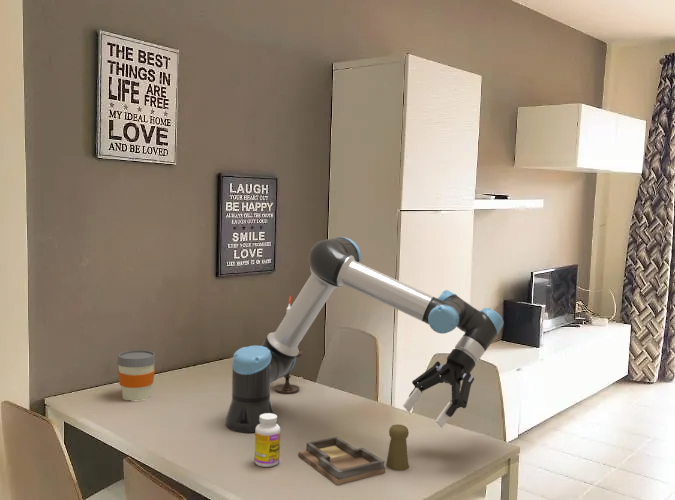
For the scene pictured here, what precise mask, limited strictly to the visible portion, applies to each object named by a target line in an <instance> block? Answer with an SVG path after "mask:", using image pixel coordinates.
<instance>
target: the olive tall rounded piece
mask: <svg viewBox="0 0 675 500" xmlns="http://www.w3.org/2000/svg"><path fill="white" fill-rule="evenodd" d="M388 435H389V437H390V441H389V446H388V447H389V448H388V452H387V459H386V464H385V466H386V468H388V469H390V470H393V471H398V472H399V471H405V470H408V469H409V457H408V445H407V439H408V438H409V429H408V427H407V426H406V425H404V424H393V425H391V426H390V427H389V430H388Z"/></svg>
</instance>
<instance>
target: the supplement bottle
mask: <svg viewBox="0 0 675 500" xmlns="http://www.w3.org/2000/svg"><path fill="white" fill-rule="evenodd" d="M259 421H260V424H258V425H257V426H256V429H255V432H254V434H255V435H254V436H255V437H254V463H255V465H257V466H259V467H263V468H271V467H275V466H277V465H278V464H279V462H280V455H281V454H280V453H281V452H280V450H281V449H280V448H281V427H280V425H279V424H278V423H277V421H278V415H277V414H275V413H274V414H272V413H265V414H261V415H260V418H259Z"/></svg>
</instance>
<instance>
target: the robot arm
mask: <svg viewBox="0 0 675 500" xmlns="http://www.w3.org/2000/svg"><path fill="white" fill-rule="evenodd" d="M361 261H362V255H361V250H360V247H359V246H358V244H357V243H356V242H355V241H353V240H352V239H350V238H349V237H343V236H337V237H334V238H329V239H327V238H326V239H322V240H320V241H317V242H316V243H315V244H314V245H313V246H312V247H311V249H310V251H309V254H308V264H309V267H310V268H309V270H310V273H311V274H310V275H309V277H308V279H307V280H306V282H305V284H304V285H303V287H302V288H301V290H300V291H299V293H298V295H297V297H296V298H295V300H294V301H293V303H292V305H290V306H291V308H290V309H289V311H288V312H287V311H286V313H285V316H284V317H283V319H282V321H281V322H280V323H279V325H278V327H277V328H276V330H275V331H273V332H269V333H268V334H267V336H266V338H264V341H263V342H262V344H261V345H249V346H244V347H240V348H239V349H237V350H236V351H235V352H234V353H233V357H232V363H231V368H232V371H231V372H232V373H231V374H232V375H231V377H232V381H231V383H232V385H231V389H232V390H231V391H232V392H231V402H230V404H229V408H228V410H227V412H226V417H225V426H226V428H228V429H229V430H232V431H234V432H239V433H255V429H256V426H257V425H258V424H260V421H259V418H260V415H261V414H265V413H272V414H275V412H274V408H273V406H272V402H271V384H272V383H273V382H275V381H277V380H279V379H281V378H284V376H285V375H286V374H288V373H289V372H290V371H291V372H292V370H293V368H294V366H295V364H296V361H297V358H296V356H297V355H298V353H299V349H300V348H299V347H298V346H299V344H300V343H301V341H302V340H303V338H304V337H305V336H306V334H307V332H308V331H309V328H311V326H312V325H313V323H314V322H315V320H316V319H317V316H319V313H320V311H321V310H322V308H323V307H324V305H325V304H326V302H327V301H328V300H329V298H330V296H331V294H332V293H333V292H334V290H335V289H338V288H339V289H340V288H342V286H346V287H348V288H351V289H352V290H354V291H356V292H359V293H361V294H363V295H365V296H367V297H370V298H372V299H373V300H376V301H378V302H380V303H382V304H384V305H387V306H389V307H390V308H392V309H395V310H397V311H400V312H402V313H403V314H406V315H408V316H410V317H411V318H412V317H413V318H414V319H416V320H418V321H421V322H423V323H425V324H427V325H429V327H430V329H431V330H432V331H434V332H435V333H438V334H448V333H450V332H452V331H454V330H455V329H456V328H457V329H459V330H460V331H462V332H464V334H463V336H462V337H461V338H460V339H459V341H458V342H457V344H455V346H454V349H452V350H451V352H450V353H449V354H448V356H447V357H446V363H445V364H444V365H443V364H441V362H440V361H436V362H434V364H433V365H432V366H431V367H430V368H429V369H427V370H425V372H423V373H421V374H420V375H419V376H417V377H416V378H415V379H413V380H412V381H411V382H412V385H413V386H414V388H413V390H412V391H411V392H410V393H409V395H408V398H407V399H406V401H405V402H403V403H404V404H402V407H403V408H404V409H405V411H407V412H409V413H410V412H411V411H412V409H414V407H415V405H416V404H417V402H418V401H419V399H420V398H421V397H423V396H422V395H423V394H424V393H423V392H424V391H425V390H426V391H427V390H428V389H430V388H431V387H434V386H436V385H438V384H443V383H445V384H449V385H450V386H451V400H450V401H448V402H447V404H446V405H445V406H444V408H443V409H442V410H441V411H440V413H439V415H438V416H437V418H436V419H435V420H434V421H435V423H436V424H437V425H438V426H439V427H440V428H443V427H444V426H445V425H446V423H447V421H448V420H449V419H450V418H451V417H452V416H453V415H454V414H455V412H456V411H457V410H458V409H460V408H462V409H465V408H467V406H468V400H469V396H470V391H471V387H472V384H473V382H474V381H475V377H474V376H473V375H472V373H471V372H472V371H473V370H474V368H475V367H476V364H477V363H478V362H479V360H480V359H481V358H482V356H483V355H484V354H485V352H486V351H487V349H488V348H489V347H490V346H491V344H492V343H493V341H494V340H495V339H496V337H497V336H498V334H499V332H501V329H502V328H503V326H504V320H503V317H502V316H501V315H500V314H499V312H497V311H496V310H493V309H491V308H490V307H484V308H482V309H481V310H479V309H476V308H475V307H473V305H471V304H470V303H468V302H466V301H465V300H464V299H462V298H461V297H460V296H458V295H457V294H456V293H453V292H452V291H450V290H448V289H445V290H444V291H442V292H441V294H440V295H439V296H438V297H435V296H433V295H430V294H429V293H427V292H424V291H422V290H420V289H418V288H417V287H413V286H411V285H410V284H407V283H404V282H402V281H400V280H398V279H396V278H393V277H392V276H389V275H387V274H385V273H382V272H381V271H379V270H376V269H374V268H372V267H369V266H368V265H365V264H363V263H361ZM291 372H290V373H291Z"/></svg>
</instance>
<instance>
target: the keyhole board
mask: <svg viewBox="0 0 675 500" xmlns="http://www.w3.org/2000/svg"><path fill="white" fill-rule="evenodd" d="M305 448H306V449H304V450H300V451H298V454H297V455H298V457H299V458H301V460H303V461H304V462H305V463H307V464H308V465H309V466H311V467H312V468H314V469H315V470H316V471H318V472H319V473H321V474H322V475H323V476H324V477H326V478H327V479H328V480H330V481H331V482H332V483H334V484H335V485H336V486H338V485H342V484H346V483H350V482H354V481H358V480H362V479H366V478H370V477H373V476H377V475H381V474H385V473H386V467H385V461H384V460H383V459H382V458H380V457H379V456H376V455H375V454H374V453H372V452H370V451H369V450H367V449H366V448H363V447H360V448H355V446H353V445H350V444H349V443H348V442H346V441H344V440H343V439H341V438H340V437H338V436H334V437H328V438H324V439H318V440H313V441H309V442H306V447H305Z"/></svg>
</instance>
